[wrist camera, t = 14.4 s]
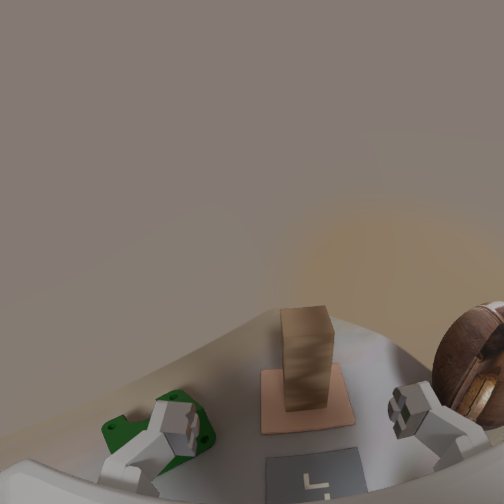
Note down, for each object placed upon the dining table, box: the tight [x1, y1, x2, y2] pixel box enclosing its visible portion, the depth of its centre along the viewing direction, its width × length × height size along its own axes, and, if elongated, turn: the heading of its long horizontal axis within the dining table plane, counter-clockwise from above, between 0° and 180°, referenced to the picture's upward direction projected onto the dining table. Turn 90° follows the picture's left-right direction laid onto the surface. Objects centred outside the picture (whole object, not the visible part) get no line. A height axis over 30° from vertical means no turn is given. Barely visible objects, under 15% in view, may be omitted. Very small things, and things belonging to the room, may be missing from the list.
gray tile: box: [266, 447, 368, 504], centre depth 21 cm, size 10×10×1 cm
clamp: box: [101, 390, 216, 476], centre depth 27 cm, size 12×6×9 cm, turn 124°
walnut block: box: [280, 306, 335, 412], centre depth 32 cm, size 5×5×12 cm
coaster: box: [261, 363, 356, 435], centre depth 34 cm, size 11×11×1 cm
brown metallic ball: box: [432, 301, 504, 431], centre depth 23 cm, size 15×15×15 cm
